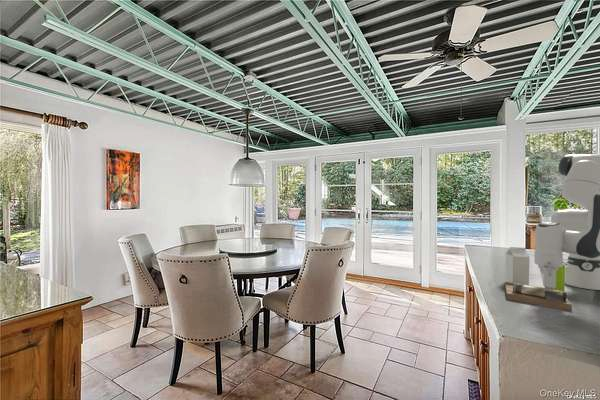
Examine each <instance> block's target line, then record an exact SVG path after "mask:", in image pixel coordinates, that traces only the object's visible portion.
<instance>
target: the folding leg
mask: <svg viewBox="0 0 600 400" xmlns="http://www.w3.org/2000/svg"><path fill="white" fill-rule="evenodd" d="M534 286H535V285H530V286H527V285H523V284H519V283H513V291H514V292H517V293H524V294H529V295H535V296H541V297H545V291H550V292H556V293H562V294H563V300H566V299H568V298H567V297H568V296H567V291H564V292H562V291H559V290H553V289H546V288H545V287H543V288H540V287H541V286H536V287H534Z"/></svg>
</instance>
